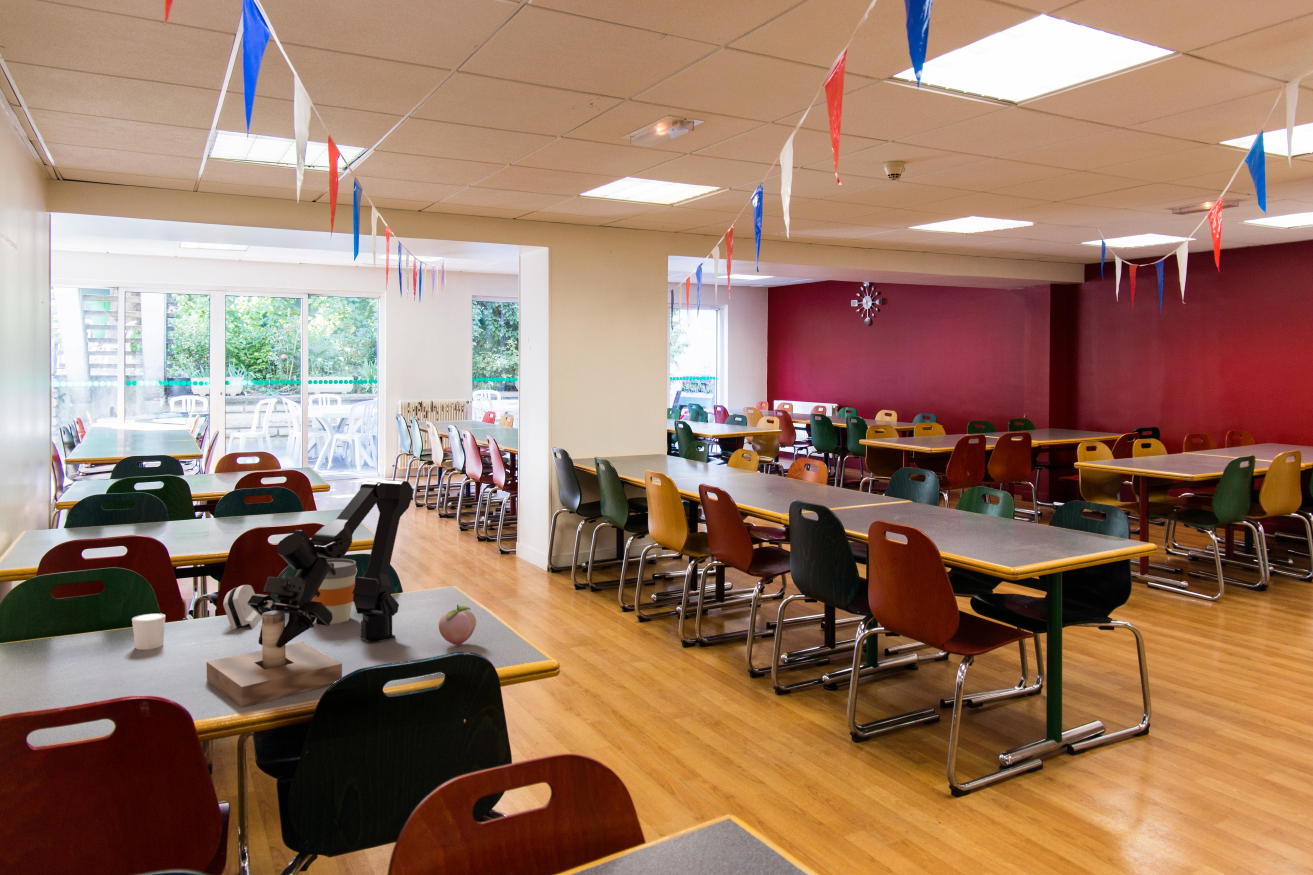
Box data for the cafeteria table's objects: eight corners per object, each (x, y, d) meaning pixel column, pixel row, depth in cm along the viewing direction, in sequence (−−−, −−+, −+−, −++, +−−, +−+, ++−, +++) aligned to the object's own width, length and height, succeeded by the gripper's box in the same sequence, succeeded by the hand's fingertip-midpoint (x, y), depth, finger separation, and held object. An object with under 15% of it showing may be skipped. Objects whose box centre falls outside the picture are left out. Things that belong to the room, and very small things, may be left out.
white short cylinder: (170, 645, 201) (169, 616, 201) (137, 652, 196) (136, 622, 196) (160, 639, 206) (160, 611, 205) (128, 645, 201) (127, 616, 200)
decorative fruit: (449, 638, 210) (449, 598, 210) (480, 641, 209) (480, 600, 208) (431, 650, 201) (431, 608, 200) (464, 652, 199) (464, 610, 199)
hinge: (253, 628, 216) (238, 592, 215) (234, 635, 215) (219, 599, 214) (267, 610, 233) (253, 577, 231) (250, 617, 232) (236, 583, 230)
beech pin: (269, 670, 181) (268, 610, 180) (289, 671, 181) (288, 610, 180) (258, 677, 177) (257, 615, 176) (279, 678, 177) (278, 616, 176)
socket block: (302, 659, 193) (302, 642, 193) (342, 682, 179) (341, 663, 179) (206, 680, 179) (206, 661, 179) (242, 706, 165) (241, 686, 165)
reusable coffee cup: (322, 611, 232) (321, 557, 231) (365, 614, 231) (365, 559, 230) (296, 624, 220) (296, 567, 219) (342, 627, 218) (342, 569, 217)
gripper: (253, 556, 184) (211, 620, 175) (322, 564, 178) (282, 631, 168) (282, 584, 192) (243, 647, 183) (348, 593, 186) (312, 658, 176)
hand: (268, 645), depth 177 cm, fingers closed on beech pin, 4 cm apart
